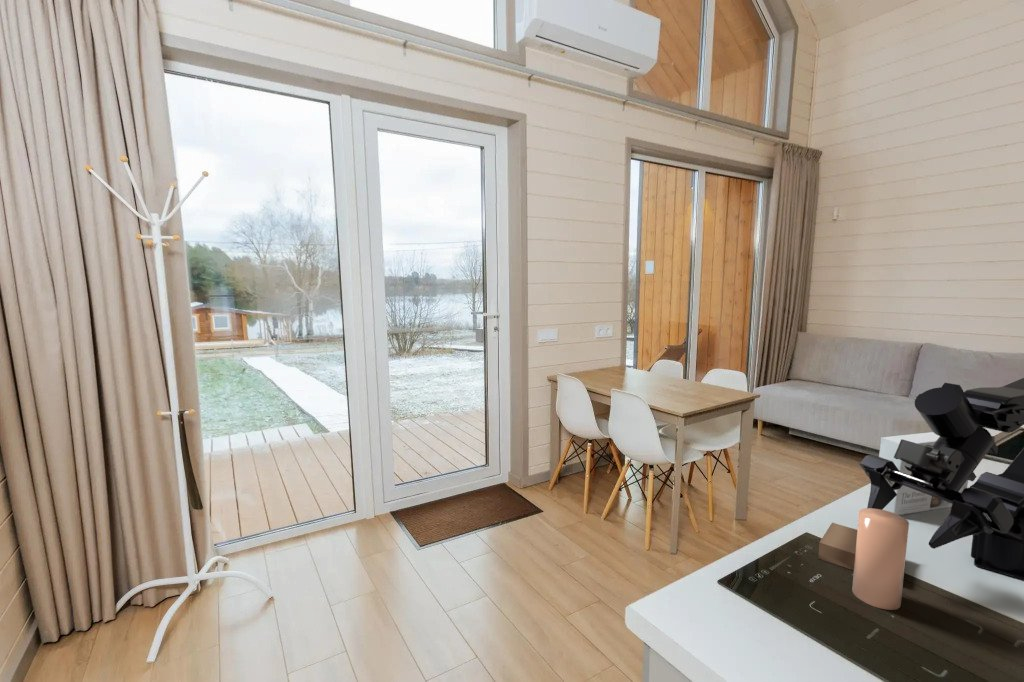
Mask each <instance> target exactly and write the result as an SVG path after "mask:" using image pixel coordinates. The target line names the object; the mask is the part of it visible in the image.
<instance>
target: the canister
mask: <svg viewBox="0 0 1024 682" xmlns="http://www.w3.org/2000/svg"><path fill="white" fill-rule="evenodd" d="M857 521H858V524H857V529H856V530H857V542H856V553H855V564H854V570H853V578H852V590H851V591H852V594H853V595H854V596H855V597H856V598H857V599H859V600H860V601H862V602H863V603H865V604H867V605H870V606H872V607H874V608H878V609H881V610H882V609H883V610H886V611H887V610H888V611H893V610H894V611H896V610H898V609H899V608H901V605H902V597H903V595H902V594H903V585H904V576H905V566H906V565H905V564H906V554H907V546H908V537H909V535H908V534H909V525H910V523H909V520H907V519H906V518H905V517H903V516H902V515H897V514H895V513H892V512H889V511H885V510H880V509H873V508H867V507H866V508H862V509H860V510H859V511H858V520H857Z"/></svg>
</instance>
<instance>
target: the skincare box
mask: <svg viewBox="0 0 1024 682" xmlns="http://www.w3.org/2000/svg"><path fill="white" fill-rule="evenodd" d="M939 437H940V436H938V435H936V434H935V433H934V432H932V431H931V432H930V431H929V432H922V433H912V434H911V433H910V434H902V435H892V436H885V437H884V436H883V437H882V436H881V438H880V445H879V453H878V457H881V458H884V459H887V460H890V461H893V463H894V464H895V466H896V467H897V468H898V470H899V471H900V472H902V473H905V474H908V475H911V471H908V470H907V469H906V468H905V466H904V465H905V464H906V462H904V461H902V460H900V459H895V458H894V455H895V453H896V451H897V448H898V446H899V444H900V441H901V439H903V440H907V441H910V442H914V443H917V444H921V445H924V446H925V445H926V444H927V445H931V446H933V445H934V443H935V442H936V441H937V439H938V438H939ZM968 484H969V480H967V481H966V482H965V483H964V485H963V486H962V487H961V489H960V490H959V491H958V492H960V493H962V491H963V490H964V489H965V488H968ZM894 491H895V492H896V494H897V495H896V496H895V497H894V498H893V499H892V500H891V501H890V502H889V503H888V504H887V505H886V506H885V507H884V508H883V509H882V510H885V511H889V512H892V513H895V514H897V515H899V516H903V515H909V514H910V515H911V514H915V513H920V512H927V511H934V510H939V509H941V510H942V509H946V508H952V503H949V502H947V501H944V500H941V499H939V498H936V497H933V496H930V495H928V494H925V493H922V492H920V491H917V490H914V489H912V488H909V487H906V486H904V485H902V487H901V488H900V489H897V490H894Z"/></svg>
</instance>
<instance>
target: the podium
mask: <svg viewBox="0 0 1024 682" xmlns="http://www.w3.org/2000/svg"><path fill="white" fill-rule="evenodd" d="M857 530H858V529H856V528H852V527H849V526H845V525H843V524H839V523H836V522H835V523H834V522H831V524H830V525H829V526H828V528H827V530H826V531H825V533H824V534H823V536H822V538H821V539H820V540H819V544H818V557H817V558H818V560H819V559H820V560H822V561H825V562H828V563H831V564H833V565H837V566H839V567H842V568H846V569H849V570H851V571H854V564H855V553H856V542H857Z"/></svg>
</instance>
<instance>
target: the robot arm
mask: <svg viewBox="0 0 1024 682" xmlns="http://www.w3.org/2000/svg"><path fill="white" fill-rule="evenodd" d="M915 397H916V398H915V399H914V407H915V409H916V410H917V412H918V413H919V414H920V416H921V418H922V419H923V420H924V422H925V423H926V424H927V426H928V427H929V429H930V430H931V432H934V433H935V434H936V435H938V436H940V437H939V438H938V439H937V441H936V442H935V443H934V445H933V446H931V445H927V444H926V445H925V446H924V445H921V444H917V443H914V442H910V441H907V440H903V439H901V441H900V444H899V446H898V448H897V451H896V453H895V455H894V458H895V459H900V460H902V461H904V462H906V464H905V465H904V466H905V468H906V469H907V470H908V471H911V475H908V474H905V473H902V472H900V471H899V470H898V468H897V467H896V466H895V464H894V463H893V461H890V460H887V459H884V458H881V457H879V455H878V456H877V455H875V454H867V455H865V456H864V457H863V458H862V460H861V461H860V462H859V466H860V467H861V469H862V470H863V471H864V473H865V475H866V476H867V477H868V478H869V480H870V492H869V498H868V502H867V507H866V508H873V509H880V510H882V509H883V508H884V507H885V506H886V505H887V504H888V503H889V502H890V501H891V500H892V499H893V498H894V497H895V496H896V495H897V494H896V492H895V491H894V490H897V489H900V488H901V487H902V485H904V486H906V487H909V488H912V489H914V490H917V491H920V492H922V493H925V494H928V495H930V496H933V497H936V498H939V499H941V500H944V501H947V502H949V503H952V507H950V511H949V512H950V513H949V514H948V516H946V518H945V519H944V521H943V522H942V523H941V524H940V525H939V527H938V528H937V529H936V531H935V532H934V533H933V534H932V536H931V537H930V539H929V542H928V545H929V547H930V548H931V549H937V548H940V547H942V546H945V545H948V544H949V543H952V542H955V541H957V540H960V539H963V538H967V537H970V536H972V539H971V548H970V549H971V550H970V557H971V558H972V559H973V565H974V566H976V567H978V568H981V569H986V570H989V571H992V572H995V573H999V574H1002V575H1005V576H1009V577H1013V578H1016V579H1020V580H1022V581H1024V447H1022V449H1021V451H1019V453H1018V454H1017V455H1016V457H1015V458H1014V459H1013V460H1012V461H1011V463H1010V464H1009V465H1008V466H1007V467H1006V469H1005V470H1004V471H1003V472H1002V473H999V474H995V473H993V472H990V471H989V472H988V471H985V472H983V473H981V474H980V475H979V476H978V478H977V475H976V474H975V470H976V468H977V467H978V466H979V464H980V463H981V462H982V461H983V459H984V458H985V457H986V455H987V454H988V453H990V454H993V455H997V454H998V449H999V448H998V446H997V444H996V441H995V440H996V438H995V436H993V435H992V433H990V432H989V430H987V429H990V430H994V431H999V432H1003V433H1007V434H1009V433H1013V432H1015V431H1017V430H1018V429H1020V428H1021V427H1022V426H1024V377H1022V378H1020V379H1017V380H1014V381H1013V382H1010V383H1008V384H1006V385H1005V384H1004V385H1003V386H999V387H998V386H997V387H995V386H994V387H976V388H975V387H974V388H971V389H967V390H965V391H964V390H963V387H962V386H961V385H960V384H957V383H951V382H950V383H949V382H944V383H943V384H942V386H941V387H940V386H939V387H935V388H931V389H927V390H925V391H923V392H922V393H919V394H918V395H917V396H915ZM976 478H977V480H976ZM967 480H968V481H970V482H974V481H975V480H976V481H975V482H974V483H973V484H971V485H970V486H969V487H967V488H965V489H964V490H963V491H962V493H960V492H958V491H959V490H960V489H961V487H962V486H963V485H964V483H965V482H966V481H967Z"/></svg>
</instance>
